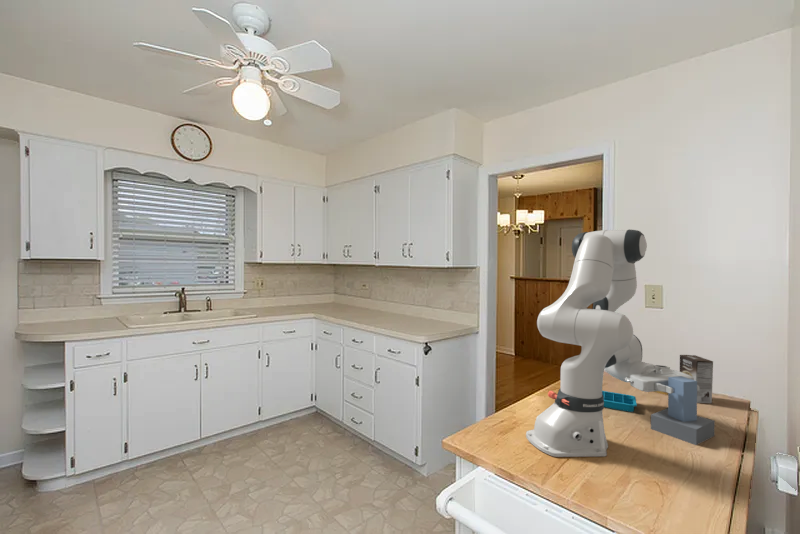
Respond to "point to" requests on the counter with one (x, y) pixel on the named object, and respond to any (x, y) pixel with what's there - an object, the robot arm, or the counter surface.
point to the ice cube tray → (619, 401)
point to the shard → (661, 392)
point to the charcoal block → (683, 427)
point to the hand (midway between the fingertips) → (685, 389)
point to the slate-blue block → (683, 399)
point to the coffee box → (699, 375)
